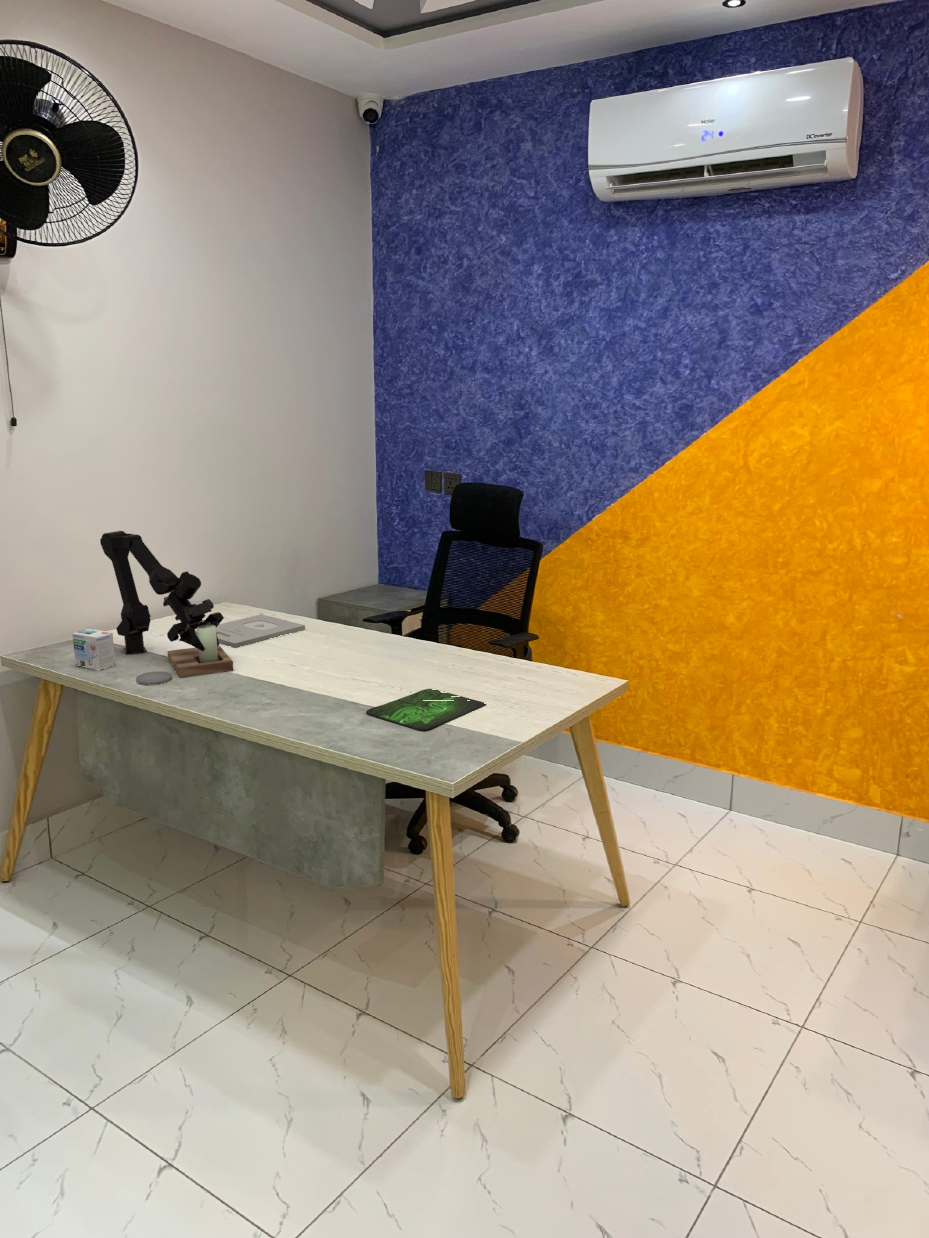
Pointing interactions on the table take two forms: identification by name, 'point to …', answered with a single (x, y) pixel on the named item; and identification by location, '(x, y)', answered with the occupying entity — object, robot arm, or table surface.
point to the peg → (208, 643)
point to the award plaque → (254, 630)
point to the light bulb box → (94, 648)
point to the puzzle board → (198, 662)
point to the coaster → (154, 678)
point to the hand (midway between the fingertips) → (211, 647)
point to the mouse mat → (425, 709)
